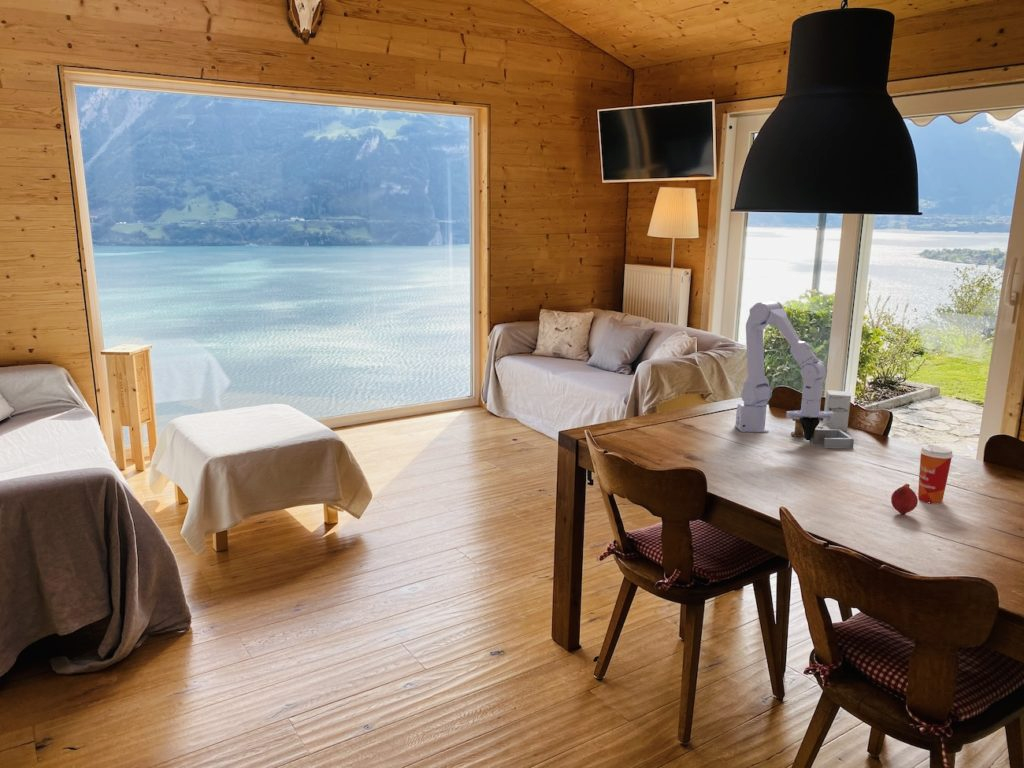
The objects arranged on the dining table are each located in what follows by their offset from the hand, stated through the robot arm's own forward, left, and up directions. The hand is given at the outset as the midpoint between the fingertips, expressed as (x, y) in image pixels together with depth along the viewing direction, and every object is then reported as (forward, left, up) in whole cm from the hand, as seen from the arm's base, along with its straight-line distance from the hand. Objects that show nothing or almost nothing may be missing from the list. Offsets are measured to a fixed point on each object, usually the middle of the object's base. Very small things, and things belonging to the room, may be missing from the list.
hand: (807, 439), depth 249 cm
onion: (+2, -60, -1) cm, 60 cm away
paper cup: (+14, -50, -1) cm, 52 cm away
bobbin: (0, +8, -1) cm, 8 cm away
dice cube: (+4, 0, -1) cm, 4 cm away
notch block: (+8, 0, -1) cm, 8 cm away
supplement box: (+16, +18, -1) cm, 24 cm away
